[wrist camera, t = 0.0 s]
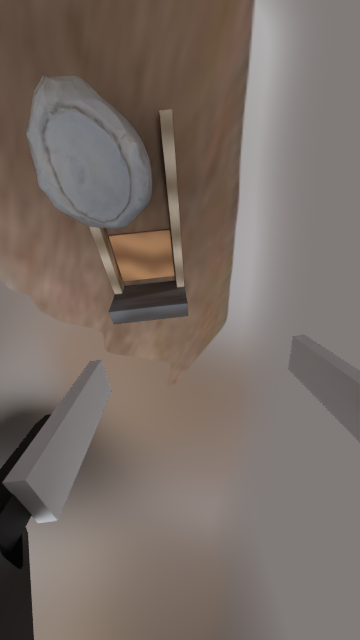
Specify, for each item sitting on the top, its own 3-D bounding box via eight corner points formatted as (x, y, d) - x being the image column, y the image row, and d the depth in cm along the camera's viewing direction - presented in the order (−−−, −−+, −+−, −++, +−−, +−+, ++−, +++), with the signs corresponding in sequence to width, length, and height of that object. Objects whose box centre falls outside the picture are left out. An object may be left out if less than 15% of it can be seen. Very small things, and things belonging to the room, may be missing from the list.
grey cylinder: (143, 121, 23) (110, 29, 8) (161, 195, 28) (161, 224, 13) (84, 140, 24) (-50, 90, 9) (112, 209, 29) (60, 252, 14)
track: (60, 126, 23) (17, 107, 16) (170, 115, 23) (175, 92, 16) (121, 298, 40) (113, 324, 34) (183, 291, 41) (188, 315, 34)
